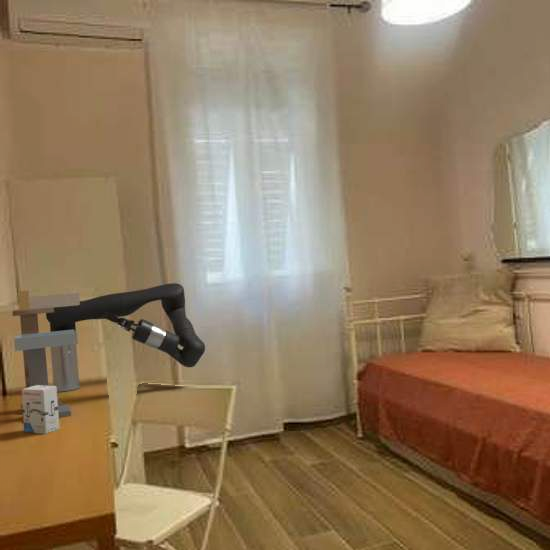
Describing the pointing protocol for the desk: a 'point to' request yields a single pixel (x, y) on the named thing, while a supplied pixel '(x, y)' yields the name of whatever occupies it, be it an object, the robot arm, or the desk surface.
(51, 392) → the ink box
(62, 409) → the frame
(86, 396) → the desk surface
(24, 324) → the walnut stand
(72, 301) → the pin
